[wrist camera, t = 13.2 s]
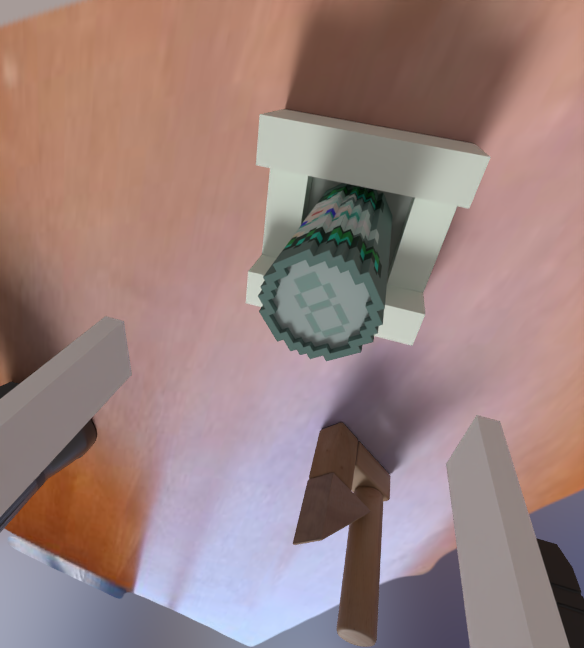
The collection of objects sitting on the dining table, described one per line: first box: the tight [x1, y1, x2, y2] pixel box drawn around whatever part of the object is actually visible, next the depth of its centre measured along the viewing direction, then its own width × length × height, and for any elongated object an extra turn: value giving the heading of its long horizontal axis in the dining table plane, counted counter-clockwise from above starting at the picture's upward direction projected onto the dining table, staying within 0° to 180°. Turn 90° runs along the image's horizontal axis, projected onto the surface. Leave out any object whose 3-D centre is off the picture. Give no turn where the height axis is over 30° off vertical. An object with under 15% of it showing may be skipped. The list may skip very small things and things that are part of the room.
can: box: [258, 183, 393, 361], centre depth 24 cm, size 6×6×15 cm
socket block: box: [246, 109, 490, 346], centre depth 28 cm, size 14×14×6 cm
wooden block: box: [293, 423, 390, 647], centre depth 39 cm, size 4×11×18 cm, turn 40°
